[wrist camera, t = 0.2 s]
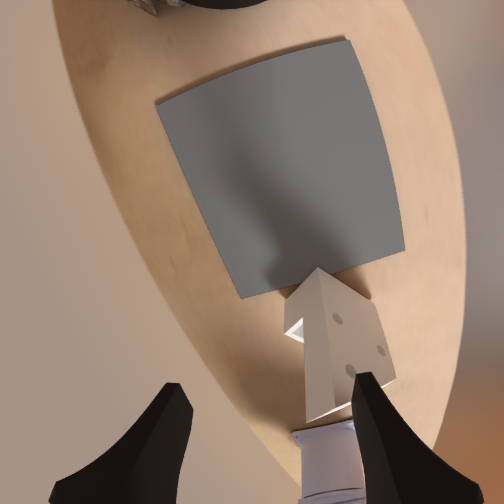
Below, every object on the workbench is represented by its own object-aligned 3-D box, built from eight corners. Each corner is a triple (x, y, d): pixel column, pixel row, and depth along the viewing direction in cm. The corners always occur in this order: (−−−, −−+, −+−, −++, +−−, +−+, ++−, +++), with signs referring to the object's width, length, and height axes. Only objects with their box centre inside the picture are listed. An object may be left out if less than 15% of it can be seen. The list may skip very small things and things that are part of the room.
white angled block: (259, 254, 15) (335, 407, 10) (355, 275, 22) (413, 368, 16) (225, 295, 17) (280, 434, 12) (325, 303, 23) (375, 393, 18)
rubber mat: (403, 247, 18) (405, 250, 18) (241, 296, 21) (240, 299, 20) (347, 41, 12) (349, 39, 12) (157, 106, 15) (155, 106, 15)
